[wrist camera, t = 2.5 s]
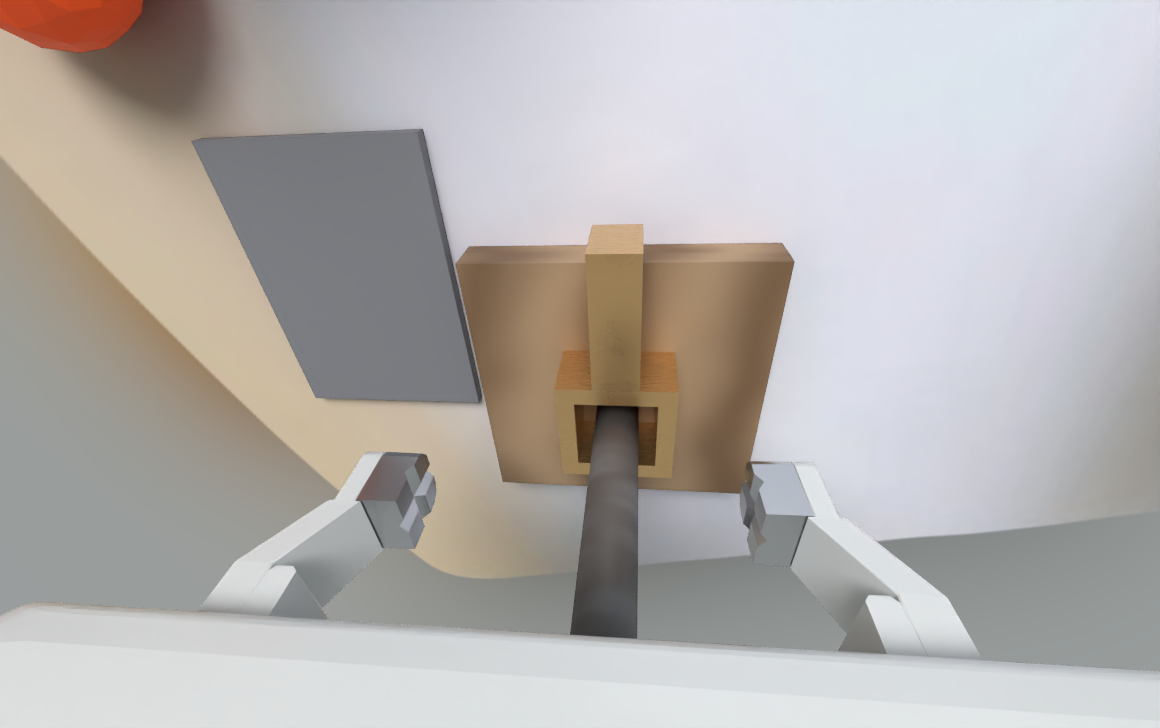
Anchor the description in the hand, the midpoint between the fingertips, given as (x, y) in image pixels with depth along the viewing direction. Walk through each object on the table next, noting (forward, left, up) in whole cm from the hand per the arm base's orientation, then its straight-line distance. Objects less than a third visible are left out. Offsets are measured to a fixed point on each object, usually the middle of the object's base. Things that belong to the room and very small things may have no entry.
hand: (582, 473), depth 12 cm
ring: (-1, +3, -10) cm, 11 cm away
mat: (+12, +1, -12) cm, 17 cm away
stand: (-1, +6, -12) cm, 13 cm away
